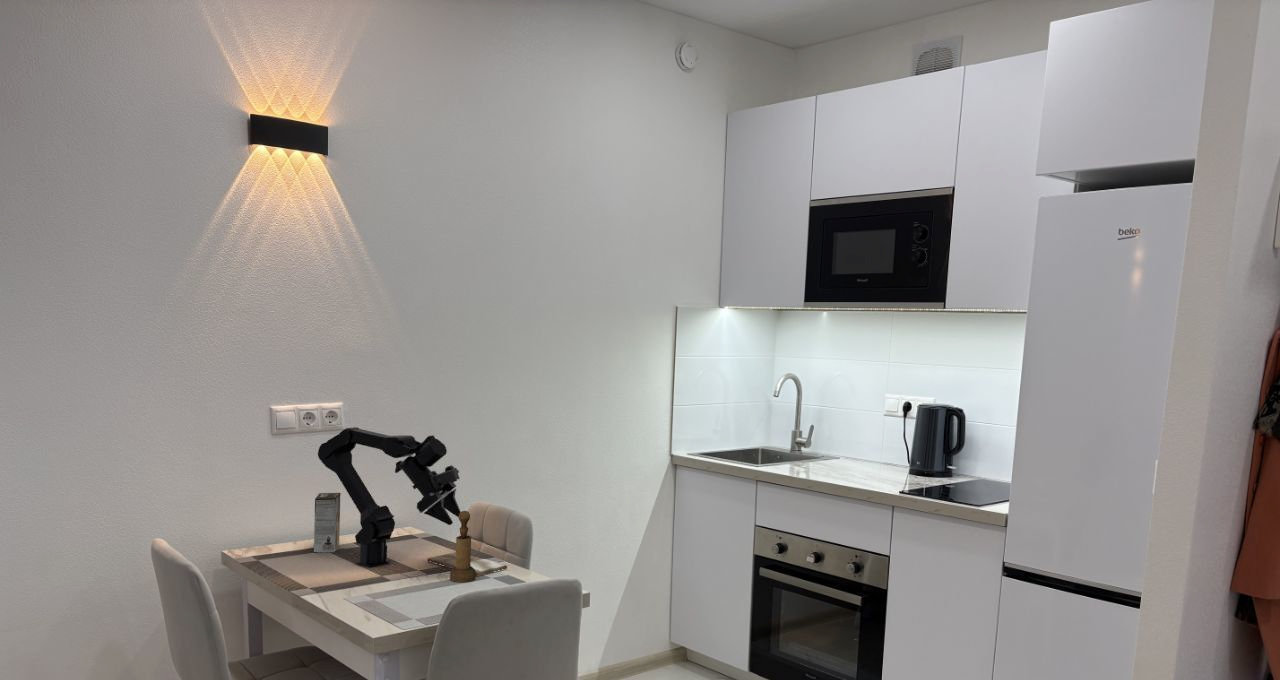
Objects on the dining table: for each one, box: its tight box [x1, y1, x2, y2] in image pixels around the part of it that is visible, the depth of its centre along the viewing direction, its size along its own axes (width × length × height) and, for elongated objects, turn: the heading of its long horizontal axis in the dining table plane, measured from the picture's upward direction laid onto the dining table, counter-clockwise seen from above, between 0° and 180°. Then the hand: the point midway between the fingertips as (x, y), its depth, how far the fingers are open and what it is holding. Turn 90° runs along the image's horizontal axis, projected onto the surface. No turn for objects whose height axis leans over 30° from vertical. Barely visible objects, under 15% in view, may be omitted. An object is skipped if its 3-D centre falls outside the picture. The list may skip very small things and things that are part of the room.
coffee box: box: [313, 492, 342, 553], centre depth 255 cm, size 9×6×16 cm
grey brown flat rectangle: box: [426, 551, 508, 577], centre depth 240 cm, size 10×22×1 cm, turn 50°
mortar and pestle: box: [449, 510, 476, 583], centre depth 226 cm, size 7×6×18 cm
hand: (456, 520), depth 234 cm, fingers open, 9 cm apart
